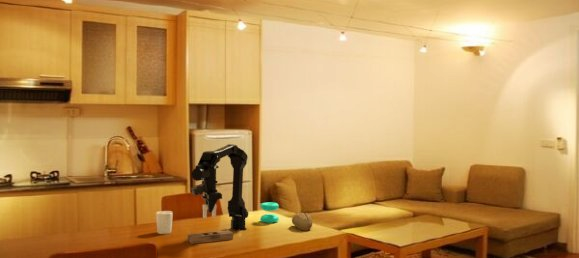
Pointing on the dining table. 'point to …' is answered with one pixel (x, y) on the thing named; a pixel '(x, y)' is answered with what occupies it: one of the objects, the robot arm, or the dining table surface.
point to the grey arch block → (205, 207)
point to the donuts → (269, 217)
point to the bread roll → (302, 221)
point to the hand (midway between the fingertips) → (209, 211)
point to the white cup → (164, 222)
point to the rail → (210, 236)
